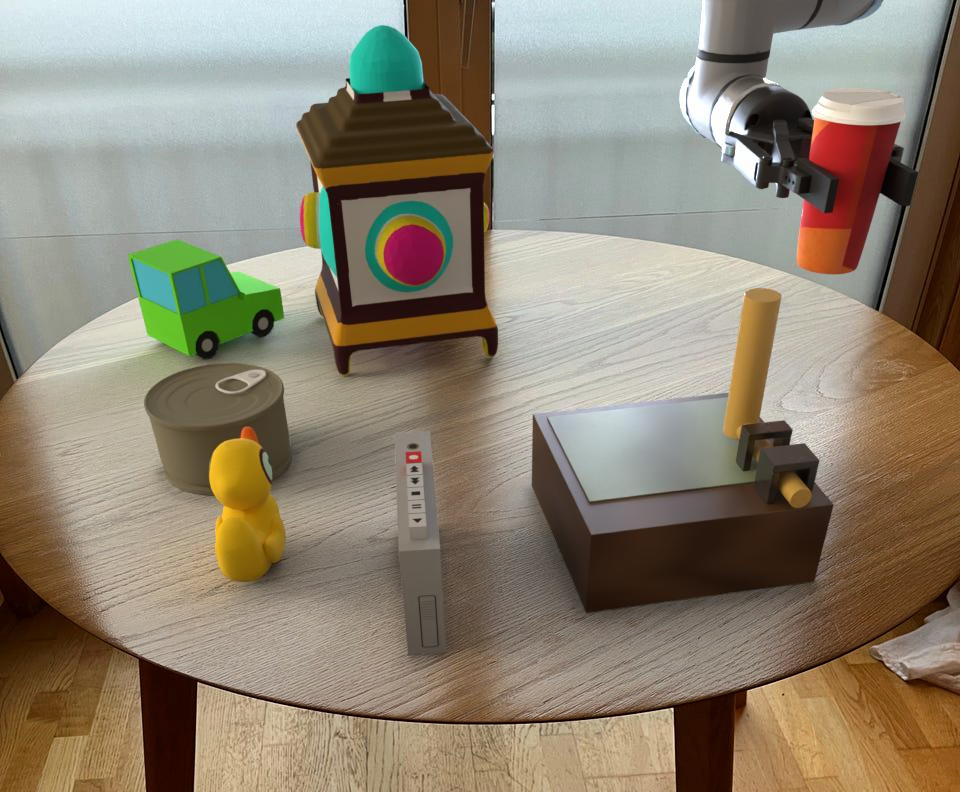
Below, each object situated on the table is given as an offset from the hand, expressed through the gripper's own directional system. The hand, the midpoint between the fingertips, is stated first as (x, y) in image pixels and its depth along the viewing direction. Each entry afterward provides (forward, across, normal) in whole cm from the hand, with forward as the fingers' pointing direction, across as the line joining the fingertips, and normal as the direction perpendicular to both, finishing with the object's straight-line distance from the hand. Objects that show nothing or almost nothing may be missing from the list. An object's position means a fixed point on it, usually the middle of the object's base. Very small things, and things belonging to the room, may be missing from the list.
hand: (871, 192), depth 84 cm
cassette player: (+20, +42, -20) cm, 51 cm away
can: (-2, +57, -20) cm, 61 cm away
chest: (+17, +22, -20) cm, 34 cm away
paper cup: (-5, 0, -8) cm, 9 cm away
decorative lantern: (-26, +38, -20) cm, 50 cm away
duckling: (+14, +55, -20) cm, 60 cm away
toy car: (-31, +58, -20) cm, 69 cm away
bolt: (+20, +16, -13) cm, 29 cm away
